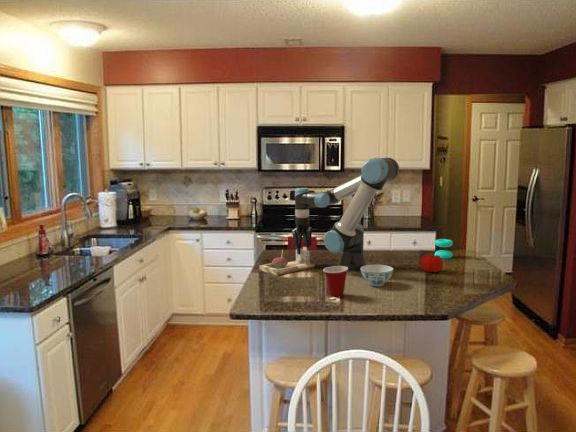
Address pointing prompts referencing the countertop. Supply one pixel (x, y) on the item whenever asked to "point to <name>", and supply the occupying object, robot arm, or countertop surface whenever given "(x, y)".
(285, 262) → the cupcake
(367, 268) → the chinaware
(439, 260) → the tomato
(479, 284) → the countertop surface
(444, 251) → the pair of cyan discs
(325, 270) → the plastic cup
